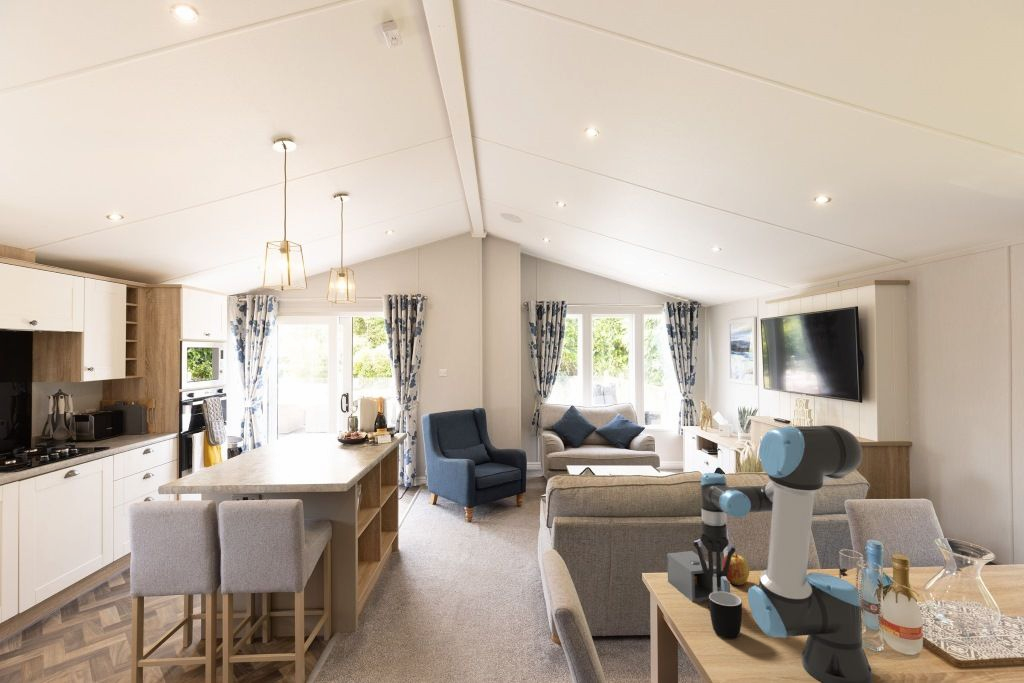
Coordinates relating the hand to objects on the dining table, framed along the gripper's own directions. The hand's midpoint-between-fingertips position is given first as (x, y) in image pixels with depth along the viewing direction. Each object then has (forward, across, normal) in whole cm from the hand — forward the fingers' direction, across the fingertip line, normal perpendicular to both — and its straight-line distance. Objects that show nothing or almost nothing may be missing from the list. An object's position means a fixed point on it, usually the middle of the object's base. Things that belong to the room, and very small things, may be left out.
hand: (715, 596), depth 161 cm
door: (+3, -3, -3) cm, 5 cm away
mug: (+4, -3, +13) cm, 14 cm away
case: (+4, +8, -11) cm, 14 cm away
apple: (+4, -5, -23) cm, 24 cm away
